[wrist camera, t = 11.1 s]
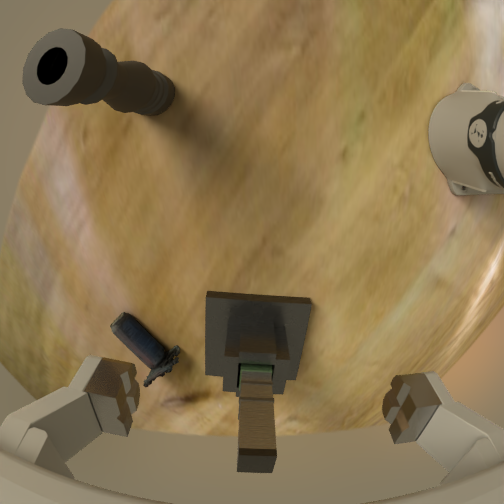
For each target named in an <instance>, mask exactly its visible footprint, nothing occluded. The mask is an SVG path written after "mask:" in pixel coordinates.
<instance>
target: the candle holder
mask: <svg viewBox="0 0 504 504" xmlns="http://www.w3.org/2000/svg"><path fill="white" fill-rule="evenodd" d="M23 86H24V89H25V91H26V95H27V96H28V97H29V98H30V99H31V100H32V101H33V102H35V103H39V104H42V105H56V106H69V105H74V104H78V103H81V104H85V105H87V104H92V103H97V102H99V101H100V100H103V101H105V102H106V103H107V104H108V105H110V106H111V107H112V108H113V109H114V110H117V111H120V112H123V113H128V112H135V113H138V114H141V115H148V116H151V115H158V114H160V113H162V112H164V111H166V110H167V109H168V108H169V106H170V105H171V104H172V102H173V99H174V97H175V88H174V86H173V83H172V81H171V80H170V79H169V78H168V77H166V76H165V75H163V74H162V73H160V72H158V71H154V70H151V69H150V68H149V67H148V66H147V65H145V64H144V63H141V62H137V61H124V62H117V60H116V57H115V55H113V54H112V53H111V52H110V51H109V50H107V49H104V48H101V46H100V45H99V44H98V43H96V42H95V41H94V40H93V39H91V38H89V37H87V36H85V35H83V34H80V33H78V32H76V31H74V30H71V29H58V30H55V31H52V32H49V33H48V34H46V35H45V36H44V37H43V38H41V39H40V40H39V41H38V42H37V43H36V44H35V46H34V47H33V48H32V50H31V51H30V53H29V54H28V57H27V60H26V62H25V66H24V68H23Z"/></svg>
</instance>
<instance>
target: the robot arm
mask: <svg viewBox="0 0 504 504" xmlns="http://www.w3.org/2000/svg"><path fill="white" fill-rule="evenodd" d="M429 144H430V149H431V152H432V155H433V158H434V160H435V162H436V164H437V165H438V167H439V168H440V170H441V171H442V172H443V173H444V175H445V176H446V178H447V181H448V184H449V187H450V190H451V192H452V193H453V194H455V195H479V194H504V97H502V96H498V95H497V93H496V92H493V91H481V90H479V89H478V88H476V87H475V86H474V85H472V84H471V83H463V84H462V85H461V86H460V87H459V88H458V90H457V91H456V92H455V93H453V94H451V95H448V96H446V97H445V98H443V99H442V100H441V101H440V102H439V103H438V104H437V105H436V107H435V108H434V110H433V112H432V115H431V118H430V123H429ZM462 186H463V189H462ZM136 374H137V371H136V367H135V364H133V363H129V362H124V361H119V360H114V359H109V358H105V357H104V358H103V357H98V356H94V355H89V356H87V357H86V359H85V360H84V362H83V363H82V365H81V367H80V368H79V370H78V372H77V373H76V375H75V376H74V378H73V380H72V381H71V383H70V385H69V387H68V388H67V387H62V388H60V389H58V390H57V391H55V392H53V393H51V394H49V395H47V396H45V397H43V398H41V399H39V400H37V401H35V402H33V403H31V404H29V405H27V406H25V407H23V408H21V409H19V410H17V411H15V412H13V413H11V414H9V415H8V416H7V417H6V419H5V420H4V422H3V424H2V425H1V427H0V504H172V503H166V502H161V501H155V500H150V499H145V498H140V497H135V496H131V495H127V494H123V493H119V492H115V491H111V490H107V489H104V488H100V487H97V486H94V485H90V484H87V483H84V482H81V481H78V480H75V479H74V476H73V474H72V473H71V471H70V470H69V468H68V467H67V465H66V464H65V462H66V461H68V460H69V459H70V458H71V457H73V456H74V455H75V454H77V453H78V452H79V451H80V450H82V449H83V448H84V447H86V446H87V445H88V444H89V443H90V442H92V441H93V440H94V439H95V438H97V437H98V436H99V435H101V434H102V432H106V433H111V434H115V435H120V436H126V437H127V436H128V434H129V431H130V428H131V425H132V422H133V420H132V416H131V414H132V413H134V412H135V411H137V408H138V405H139V398H140V387H139V383H138V382H137V381H136V380H135V376H136ZM391 387H392V389H391V390H390V391H389V392H387V393H386V395H385V397H384V399H383V405H382V411H383V415H384V418H385V420H386V421H388V422H389V423H390V424H391V425H390V428H389V431H390V434H391V436H392V439H393V442H394V444H399V443H406V442H412V441H416V443H417V444H418V445H420V447H422V448H423V449H424V450H425V451H426V452H427V453H428V454H429V455H431V456H432V457H433V458H434V459H435V460H436V461H437V462H438V463H439V464H440V465H442V466H443V467H444V468H445V469H446V470H447V471H448V472H449V473H448V475H447V476H446V477H445V478H444V479H443V480H442V481H441V483H440V485H439V486H436V487H433V488H429V489H426V490H422V491H418V492H415V493H411V494H406V495H403V496H398V497H393V498H389V499H384V500H379V501H373V502H367V503H362V504H504V429H503V428H501V427H500V426H498V425H496V424H495V423H493V422H491V421H490V420H488V419H486V418H485V417H483V416H481V415H480V414H478V413H476V412H475V411H473V410H471V409H470V408H468V407H466V406H465V405H463V404H461V403H460V402H455V401H454V400H453V398H452V396H451V395H450V393H449V392H448V390H447V388H446V387H445V385H444V384H443V382H442V380H441V379H440V377H439V376H438V374H437V373H436V372H434V371H431V372H423V373H415V374H404V375H396V376H395V377H394V378H393V380H392V382H391Z"/></svg>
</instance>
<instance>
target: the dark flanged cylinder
mask: <svg viewBox="0 0 504 504" xmlns="http://www.w3.org/2000/svg"><path fill="white" fill-rule="evenodd" d="M110 327H111V329H112V332H113V333H114V334H115V335H116V336H117V337H118V338H119V339H120V340H121V341H122V342H123V343H124V344H125V345H126V346H127V347H128V348H129V349H130V350H131V351H132V352H133V353H134V354H135V355H136V356H137V357H138V358H139V359H140V360H141V361H142V362H143V363H144V364H145V365H147V366H148V367H149V368H150V369H151V371H150V373H149V375H148V376H147V379H146V380H145V381H144V383H145V384H144V385H143V386H145V387H148V386H149V385H150V384H151V383H152V380H153V381H154V380H155V379H156V378H157V377H159V376H162V377H163V376H164V375H165V372H166V371H167V372H171V371H172V370H173V369H172V368H173V365H174V364H176V363H178V362H179V361H178V359H179V358H178V357H176V358H175V359H173V357H174V356H178V354H179V353H180V348H179V346H174V348H172V349H171V350H169V351H168V352H165V351H164V348H163V347H162V346H161V345H160V344H159V343H158V342H157V341H156V340H155V339H154V338H153V337H152V336H151V335H150V334H149V333H148V332H147V331H146V330H145V329H144V328H143V327H142V326H141V325H140V324H139V323H138V322H137V321H136V320H135V319H134V318H133V317H132V316H131V315H130V314H128V313H125V312H123V313H121V315H120V316H119V317H118V318H117V319H116V320H115V321H114V322H113V323H112V324H111V325H110ZM171 366H172V367H171ZM174 366H175V365H174ZM167 372H166V373H167Z"/></svg>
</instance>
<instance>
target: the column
mask: <svg viewBox="0 0 504 504" xmlns="http://www.w3.org/2000/svg"><path fill="white" fill-rule="evenodd" d="M271 376H272V365H267V364H249V363H242V364H241V370H240V382H239V391H240V394H239V414H238V420H239V430H238V458H237V472H253V473H272V471H273V468H274V465H275V461H276V458H277V450H276V435H275V420H274V405H273V404H274V398H273V391H272V387H273V382H272V377H271Z"/></svg>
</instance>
